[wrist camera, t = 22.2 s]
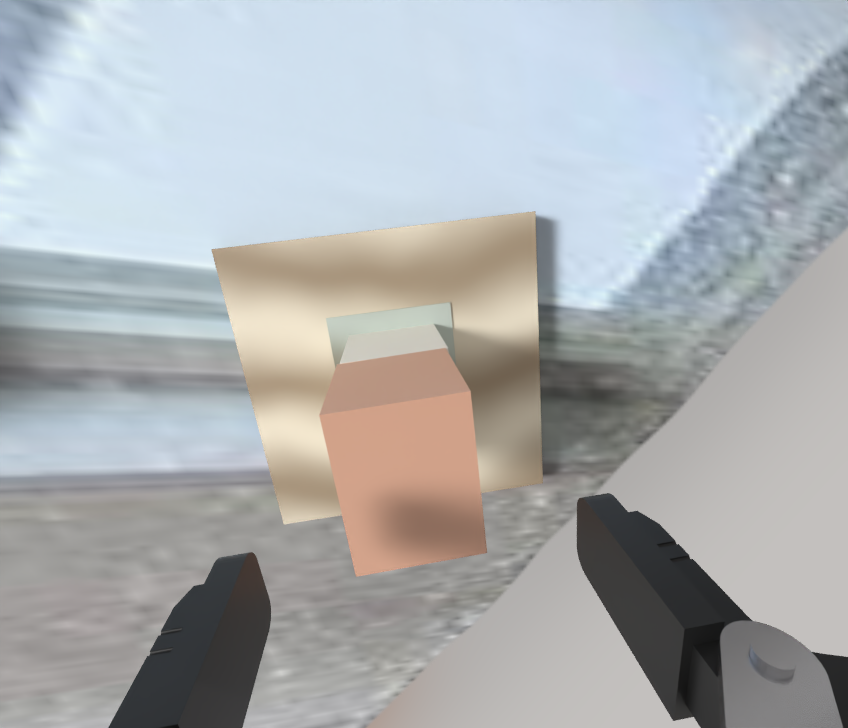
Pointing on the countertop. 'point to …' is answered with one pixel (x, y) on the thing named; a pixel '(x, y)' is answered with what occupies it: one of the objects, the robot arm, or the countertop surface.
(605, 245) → the countertop surface
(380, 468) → the terracotta brick
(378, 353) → the cream brick
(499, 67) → the countertop surface
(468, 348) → the ash board
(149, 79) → the countertop surface
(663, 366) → the countertop surface
